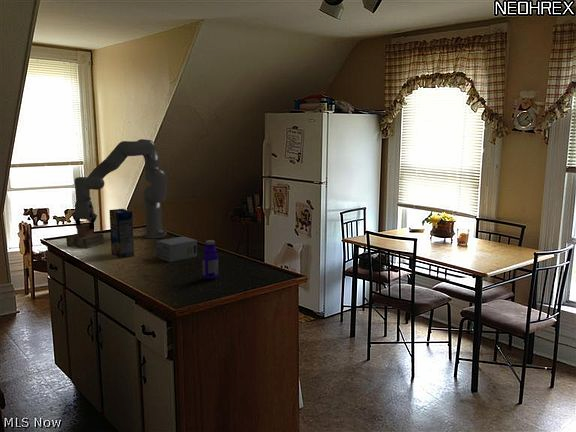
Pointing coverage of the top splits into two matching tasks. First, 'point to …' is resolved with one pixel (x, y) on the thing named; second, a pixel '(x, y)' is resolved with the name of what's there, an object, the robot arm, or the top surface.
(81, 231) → the terracotta cube
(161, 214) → the robot arm
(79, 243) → the grey flat block
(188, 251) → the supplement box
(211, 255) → the bottle
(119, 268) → the top surface
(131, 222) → the juice carton
